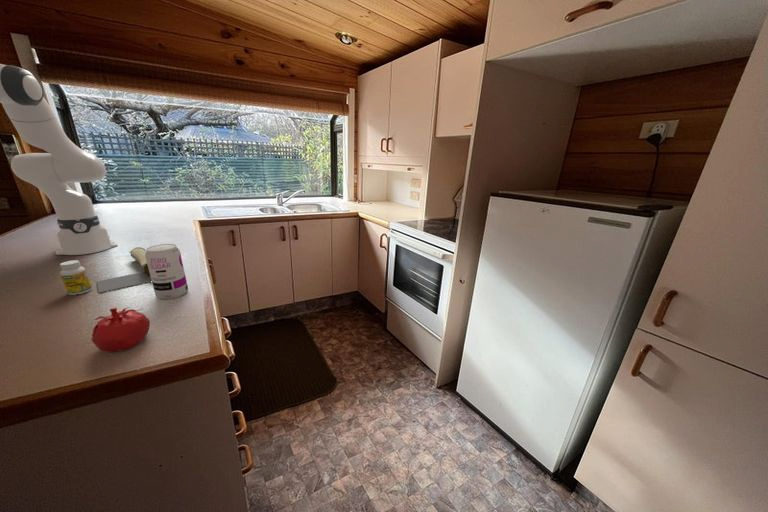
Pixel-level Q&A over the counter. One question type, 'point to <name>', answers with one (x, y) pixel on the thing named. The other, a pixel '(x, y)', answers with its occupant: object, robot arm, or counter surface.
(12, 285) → the counter surface
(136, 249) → the rolling pin
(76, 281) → the supplement bottle
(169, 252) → the supplement can
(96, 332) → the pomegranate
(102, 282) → the mat
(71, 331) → the counter surface
